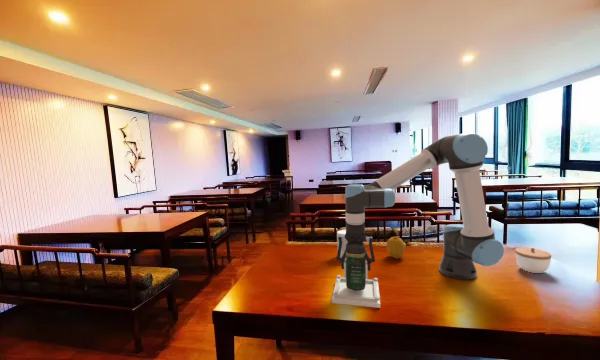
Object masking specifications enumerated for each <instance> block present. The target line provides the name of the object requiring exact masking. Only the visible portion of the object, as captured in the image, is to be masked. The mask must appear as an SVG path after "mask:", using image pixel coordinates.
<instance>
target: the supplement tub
mask: <svg viewBox="0 0 600 360" xmlns="http://www.w3.org/2000/svg"><path fill="white" fill-rule="evenodd" d="M345 234H346V229H341V230H340V229H339V230H338V231H337V232H336V243H337V244H336V245H337V247H336V249H338V247H339V239H338V237H339V235H341V236H344V235H345ZM347 243H348V241H347V240H346V239H344V241H342V248H341V255H340V256H341V257H342V256H343V254H344V251H345V249H346V244H347ZM345 260H346V258H345Z"/></svg>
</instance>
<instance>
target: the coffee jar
mask: <svg viewBox="0 0 600 360" xmlns="http://www.w3.org/2000/svg"><path fill="white" fill-rule="evenodd" d="M362 245H363V246H362ZM362 245H359V244H358V243H352V244H350V245H348V243H347V244H346V286H347V288H348V289H351V290H354V291H359V290H364V289H365V285H366V258H365V249H366V245H365V243H364V242H363V244H362Z"/></svg>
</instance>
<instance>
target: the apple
mask: <svg viewBox="0 0 600 360" xmlns="http://www.w3.org/2000/svg"><path fill="white" fill-rule="evenodd" d="M386 250H387V253H388V254H389V255H390V256H391V258H393V259H397V260H398V259H400V258H401V257H403V255H404V253H405V250H406V247H405V243H404V240H403V239H402V238H400V237H398V236H392V237H390V238H389V239H387V242H386Z"/></svg>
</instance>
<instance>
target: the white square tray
mask: <svg viewBox="0 0 600 360" xmlns="http://www.w3.org/2000/svg"><path fill="white" fill-rule="evenodd" d="M378 281H379V278H377V277H373V279H368V280H366V285H365V289H364V290H359V291H354V290H351V289H348V288H347V286H346V278H344V277H342V276H341V275H340V274H338V275H336V279H335V285H334V289H333V293H331V294H332V297H331V304H338V305H346V306H356V307H367V308H379V309H380V308H381V296H380V289H379V282H378Z"/></svg>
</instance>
